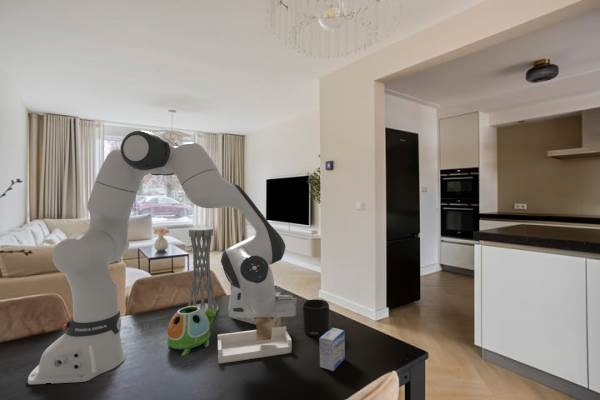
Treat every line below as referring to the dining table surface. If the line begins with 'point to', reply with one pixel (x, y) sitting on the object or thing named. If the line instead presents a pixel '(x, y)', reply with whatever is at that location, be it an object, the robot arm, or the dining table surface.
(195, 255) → the vase
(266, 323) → the oak blank
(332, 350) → the medicine box
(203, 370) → the dining table surface
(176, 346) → the turtle holder
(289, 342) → the cream shelf
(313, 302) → the pen holder
